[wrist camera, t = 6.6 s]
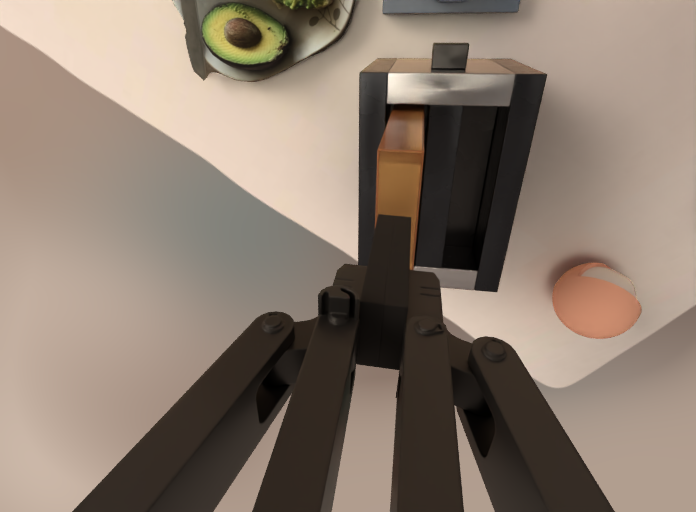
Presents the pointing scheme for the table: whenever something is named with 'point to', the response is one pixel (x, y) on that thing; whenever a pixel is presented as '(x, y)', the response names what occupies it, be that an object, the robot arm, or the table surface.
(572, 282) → the toy ball
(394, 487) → the robot arm
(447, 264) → the toaster
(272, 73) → the salad plate
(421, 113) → the toast
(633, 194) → the table surface
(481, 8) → the button block
